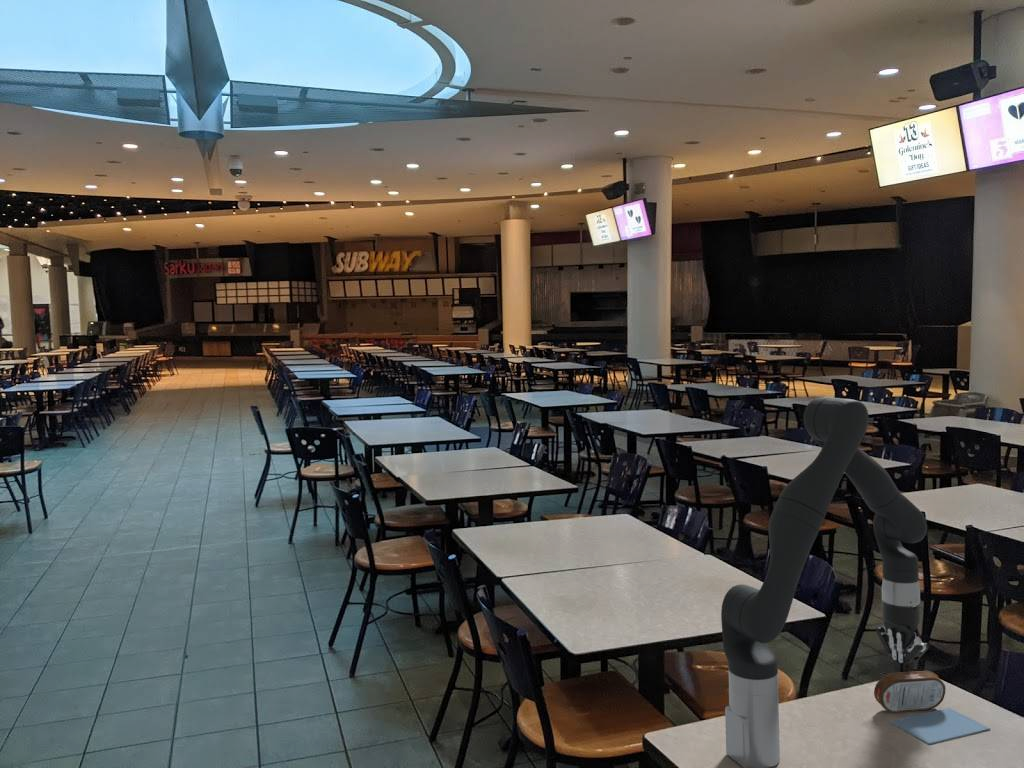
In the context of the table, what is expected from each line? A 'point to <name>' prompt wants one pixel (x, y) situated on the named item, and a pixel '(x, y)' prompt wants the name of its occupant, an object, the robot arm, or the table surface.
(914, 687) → the tin
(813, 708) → the table surface
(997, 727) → the table surface
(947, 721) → the mat
